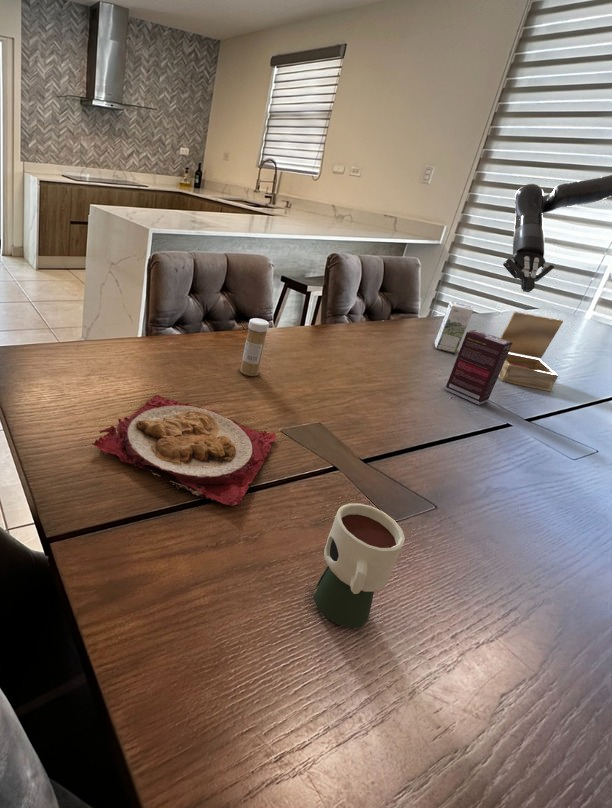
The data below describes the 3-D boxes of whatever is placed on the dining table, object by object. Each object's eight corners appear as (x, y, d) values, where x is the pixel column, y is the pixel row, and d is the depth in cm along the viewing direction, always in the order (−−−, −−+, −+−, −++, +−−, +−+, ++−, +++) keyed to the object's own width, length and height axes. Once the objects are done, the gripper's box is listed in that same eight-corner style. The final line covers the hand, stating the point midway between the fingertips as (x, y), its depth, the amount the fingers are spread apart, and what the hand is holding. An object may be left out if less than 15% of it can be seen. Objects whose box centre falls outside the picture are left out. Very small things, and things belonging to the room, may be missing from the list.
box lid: (563, 321, 127) (562, 320, 127) (515, 312, 129) (514, 311, 130) (541, 358, 133) (540, 356, 134) (495, 349, 136) (494, 347, 136)
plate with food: (235, 516, 69) (240, 498, 67) (90, 450, 78) (92, 432, 77) (275, 441, 89) (279, 426, 87) (156, 395, 98) (158, 381, 97)
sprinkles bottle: (260, 372, 115) (272, 321, 110) (254, 378, 111) (265, 326, 106) (243, 366, 117) (253, 316, 112) (236, 372, 113) (246, 320, 108)
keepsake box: (550, 391, 125) (558, 375, 123) (502, 381, 128) (509, 365, 126) (533, 374, 135) (540, 359, 134) (488, 364, 138) (494, 350, 136)
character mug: (315, 562, 62) (341, 484, 57) (372, 587, 60) (404, 507, 55) (301, 631, 53) (330, 545, 48) (367, 663, 50) (406, 575, 45)
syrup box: (453, 348, 148) (470, 304, 143) (456, 354, 143) (473, 309, 138) (433, 343, 150) (449, 300, 145) (435, 349, 145) (452, 304, 140)
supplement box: (488, 401, 115) (514, 342, 108) (479, 406, 112) (505, 345, 106) (452, 386, 121) (475, 328, 115) (443, 389, 118) (466, 331, 112)
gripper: (545, 253, 145) (545, 301, 139) (497, 246, 148) (495, 292, 142) (561, 238, 139) (561, 288, 132) (510, 231, 142) (509, 279, 135)
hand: (527, 290), depth 137 cm, fingers closed
